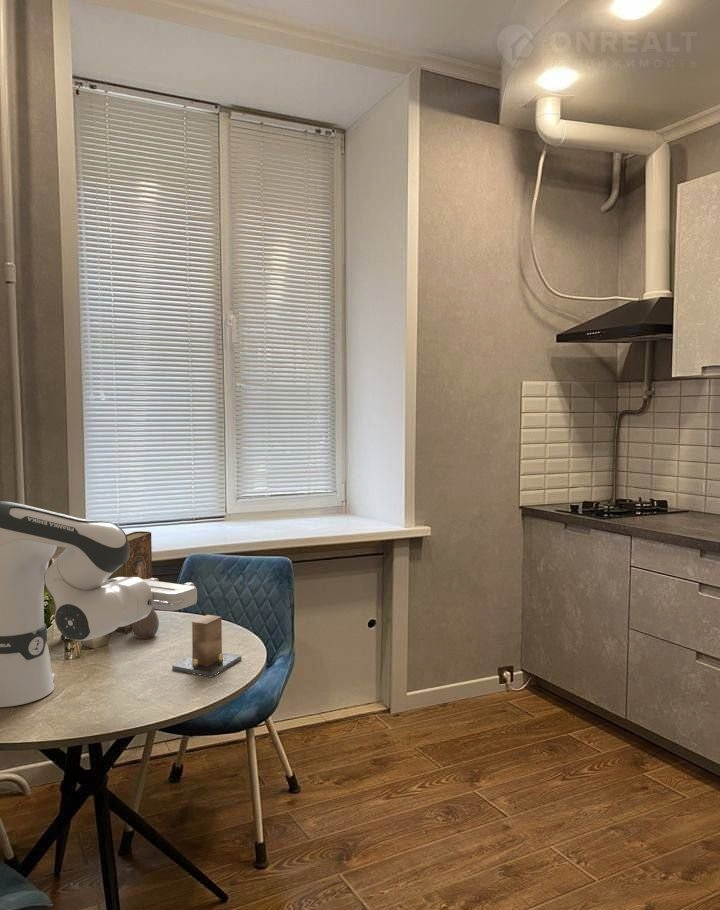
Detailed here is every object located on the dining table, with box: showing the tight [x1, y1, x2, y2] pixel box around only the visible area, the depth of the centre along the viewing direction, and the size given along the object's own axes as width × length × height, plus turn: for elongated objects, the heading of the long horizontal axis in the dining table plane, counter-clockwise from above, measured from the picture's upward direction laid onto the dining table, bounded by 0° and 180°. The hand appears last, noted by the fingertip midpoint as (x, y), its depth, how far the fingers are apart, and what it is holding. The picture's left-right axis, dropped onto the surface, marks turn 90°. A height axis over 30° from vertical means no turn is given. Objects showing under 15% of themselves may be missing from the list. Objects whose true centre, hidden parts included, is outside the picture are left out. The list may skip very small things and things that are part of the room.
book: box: [108, 530, 154, 635], centre depth 193 cm, size 16×6×25 cm, turn 168°
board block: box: [191, 614, 223, 666], centre depth 164 cm, size 4×6×10 cm, turn 156°
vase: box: [131, 608, 160, 640], centre depth 184 cm, size 7×7×9 cm
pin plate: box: [171, 650, 242, 677], centre depth 164 cm, size 11×12×3 cm
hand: (173, 583), depth 152 cm, fingers open, 8 cm apart
